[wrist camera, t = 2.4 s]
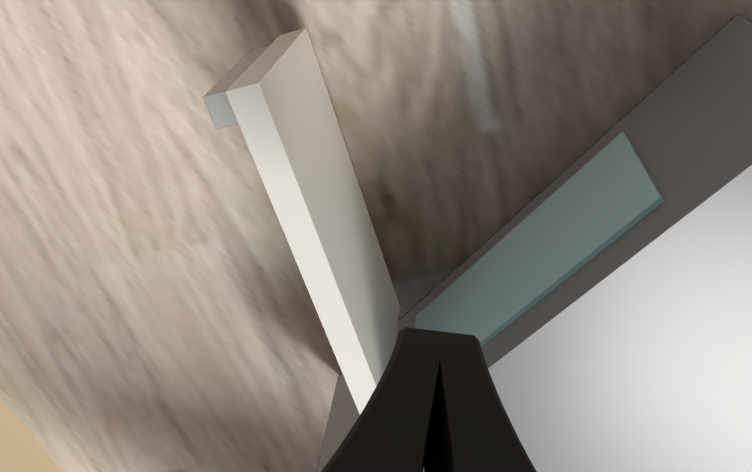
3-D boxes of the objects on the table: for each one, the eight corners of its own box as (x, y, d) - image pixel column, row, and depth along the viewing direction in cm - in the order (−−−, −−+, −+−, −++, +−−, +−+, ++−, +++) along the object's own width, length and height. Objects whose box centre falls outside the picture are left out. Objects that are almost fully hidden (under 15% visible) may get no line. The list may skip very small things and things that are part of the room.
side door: (400, 306, 23) (386, 412, 19) (357, 314, 23) (334, 419, 19) (305, 27, 18) (258, 82, 14) (254, 42, 19) (192, 100, 14)
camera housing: (553, 518, 28) (574, 664, 23) (335, 373, 25) (304, 505, 20) (1047, 231, 19) (1258, 369, 14) (796, -47, 16) (950, 1, 11)
